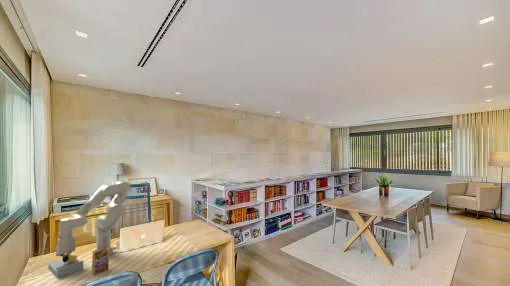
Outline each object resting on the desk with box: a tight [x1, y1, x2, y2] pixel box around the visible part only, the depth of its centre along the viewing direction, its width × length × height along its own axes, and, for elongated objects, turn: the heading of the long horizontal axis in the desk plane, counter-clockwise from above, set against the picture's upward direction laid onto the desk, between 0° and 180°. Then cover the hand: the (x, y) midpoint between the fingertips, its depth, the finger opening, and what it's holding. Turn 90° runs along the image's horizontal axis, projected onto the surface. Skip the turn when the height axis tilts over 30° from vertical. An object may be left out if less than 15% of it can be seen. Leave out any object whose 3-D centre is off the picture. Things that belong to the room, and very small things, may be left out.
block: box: [68, 253, 78, 262], centre depth 162 cm, size 4×4×4 cm
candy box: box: [91, 247, 110, 276], centre depth 154 cm, size 9×4×15 cm, turn 140°
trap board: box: [47, 258, 84, 279], centre depth 158 cm, size 14×21×6 cm, turn 55°
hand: (65, 261), depth 159 cm, fingers closed
